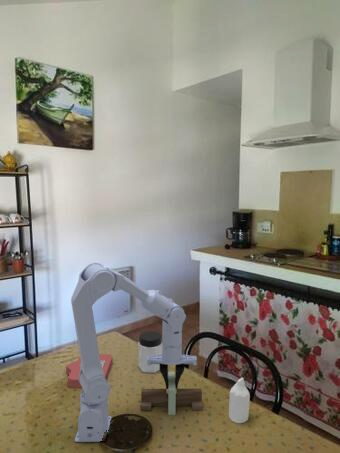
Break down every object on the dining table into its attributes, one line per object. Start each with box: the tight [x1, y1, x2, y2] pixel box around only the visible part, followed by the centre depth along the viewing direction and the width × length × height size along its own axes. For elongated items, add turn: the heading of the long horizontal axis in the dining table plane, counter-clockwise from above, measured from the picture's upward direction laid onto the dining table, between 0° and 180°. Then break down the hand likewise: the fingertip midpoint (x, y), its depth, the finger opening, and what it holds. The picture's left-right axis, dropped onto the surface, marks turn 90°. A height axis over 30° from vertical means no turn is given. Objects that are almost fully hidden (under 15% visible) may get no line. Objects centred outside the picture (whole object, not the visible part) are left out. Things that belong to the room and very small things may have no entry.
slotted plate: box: [167, 371, 177, 416], centre depth 102 cm, size 10×2×8 cm, turn 1°
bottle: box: [228, 377, 251, 424], centre depth 96 cm, size 6×12×6 cm
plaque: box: [65, 353, 114, 389], centre depth 119 cm, size 18×4×15 cm
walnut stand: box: [140, 388, 204, 412], centre depth 102 cm, size 6×18×4 cm, turn 91°
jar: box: [137, 330, 162, 374], centre depth 123 cm, size 9×8×12 cm
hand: (171, 387), depth 102 cm, fingers closed on slotted plate, 2 cm apart
